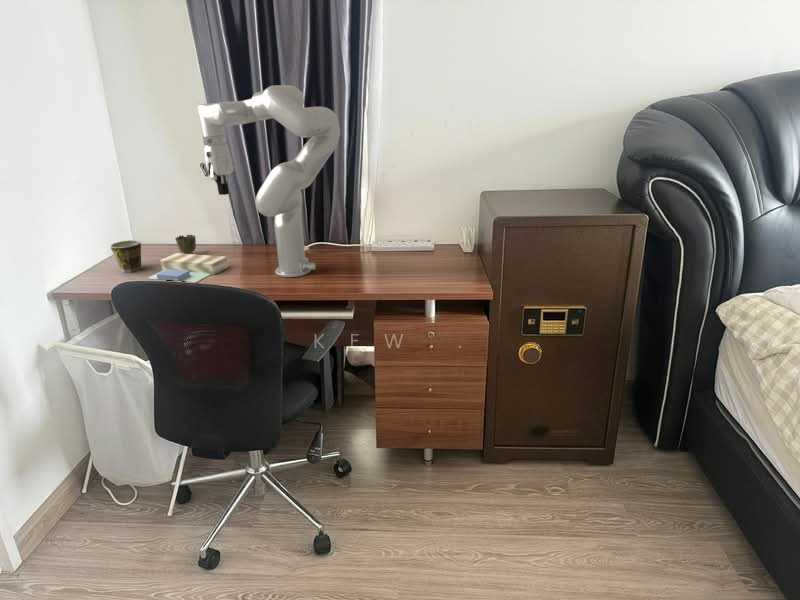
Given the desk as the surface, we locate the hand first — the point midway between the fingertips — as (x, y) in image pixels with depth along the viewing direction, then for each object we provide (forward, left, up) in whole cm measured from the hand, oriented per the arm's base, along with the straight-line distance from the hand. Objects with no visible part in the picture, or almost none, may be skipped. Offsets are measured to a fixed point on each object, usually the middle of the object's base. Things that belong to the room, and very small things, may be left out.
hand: (224, 194), depth 187 cm
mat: (+12, +17, -27) cm, 34 cm away
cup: (+25, -6, -27) cm, 37 cm away
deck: (+12, +8, -27) cm, 30 cm away
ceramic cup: (+35, +15, -27) cm, 46 cm away
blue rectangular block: (+12, +19, -24) cm, 33 cm away
